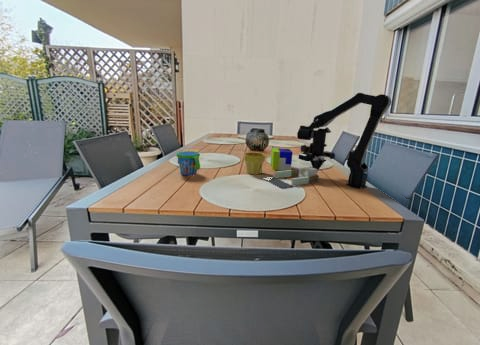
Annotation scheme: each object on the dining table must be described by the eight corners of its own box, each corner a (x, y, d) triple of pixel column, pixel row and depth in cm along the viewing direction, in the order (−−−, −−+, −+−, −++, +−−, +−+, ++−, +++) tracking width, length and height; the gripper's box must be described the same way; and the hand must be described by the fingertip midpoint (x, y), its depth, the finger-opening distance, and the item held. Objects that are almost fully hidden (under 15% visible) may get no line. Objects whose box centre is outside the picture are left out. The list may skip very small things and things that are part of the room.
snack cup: (171, 171, 122) (170, 151, 120) (190, 168, 129) (190, 149, 126) (186, 179, 111) (185, 157, 108) (206, 175, 117) (206, 154, 114)
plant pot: (262, 176, 120) (263, 156, 117) (241, 174, 122) (242, 155, 119) (264, 171, 130) (266, 152, 127) (245, 169, 132) (246, 151, 129)
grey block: (316, 179, 118) (317, 169, 117) (307, 180, 116) (308, 170, 114) (307, 176, 124) (308, 166, 122) (298, 177, 121) (299, 167, 119)
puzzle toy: (290, 170, 134) (292, 152, 131) (272, 169, 134) (273, 151, 131) (287, 166, 143) (289, 149, 141) (270, 165, 143) (271, 148, 141)
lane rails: (318, 181, 114) (319, 175, 113) (293, 185, 107) (293, 179, 106) (298, 174, 125) (299, 168, 125) (274, 177, 118) (275, 171, 118)
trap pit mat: (293, 187, 106) (293, 186, 106) (282, 188, 103) (282, 187, 103) (271, 177, 119) (271, 176, 119) (261, 178, 116) (261, 177, 116)
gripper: (320, 138, 128) (317, 167, 133) (292, 139, 120) (289, 170, 124) (337, 141, 119) (333, 172, 123) (308, 143, 110) (304, 176, 115)
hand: (315, 173), depth 121 cm, fingers closed
